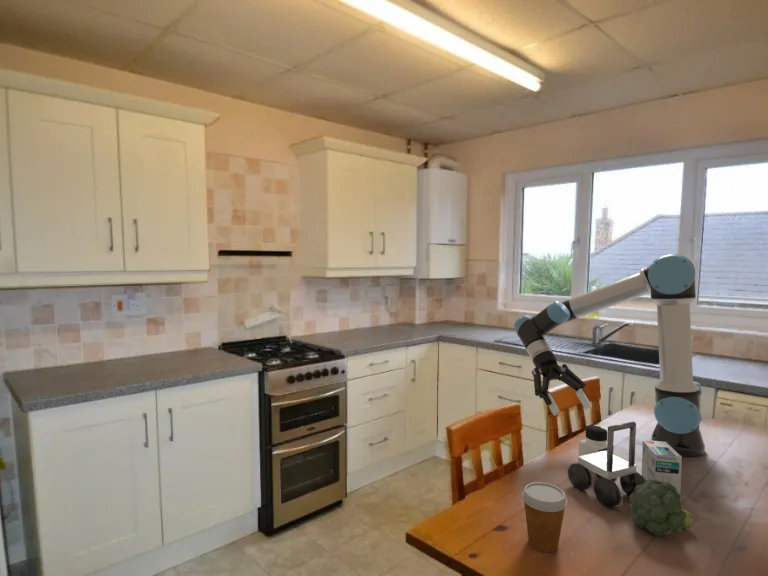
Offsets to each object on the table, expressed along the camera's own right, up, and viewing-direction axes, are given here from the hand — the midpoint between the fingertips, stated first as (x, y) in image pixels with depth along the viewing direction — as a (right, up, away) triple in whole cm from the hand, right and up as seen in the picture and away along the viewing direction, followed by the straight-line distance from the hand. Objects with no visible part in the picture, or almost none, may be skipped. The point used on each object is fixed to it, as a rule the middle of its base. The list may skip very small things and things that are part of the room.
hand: (573, 410), depth 148 cm
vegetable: (+4, -17, -40) cm, 44 cm away
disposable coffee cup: (-26, -18, -46) cm, 55 cm away
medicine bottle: (+4, -15, -7) cm, 17 cm away
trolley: (-1, -16, -24) cm, 29 cm away
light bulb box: (+16, -16, -19) cm, 30 cm away
